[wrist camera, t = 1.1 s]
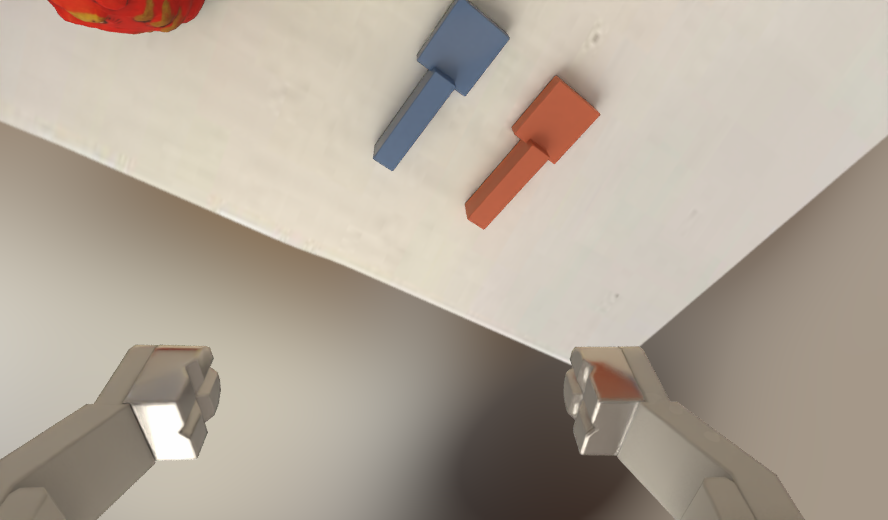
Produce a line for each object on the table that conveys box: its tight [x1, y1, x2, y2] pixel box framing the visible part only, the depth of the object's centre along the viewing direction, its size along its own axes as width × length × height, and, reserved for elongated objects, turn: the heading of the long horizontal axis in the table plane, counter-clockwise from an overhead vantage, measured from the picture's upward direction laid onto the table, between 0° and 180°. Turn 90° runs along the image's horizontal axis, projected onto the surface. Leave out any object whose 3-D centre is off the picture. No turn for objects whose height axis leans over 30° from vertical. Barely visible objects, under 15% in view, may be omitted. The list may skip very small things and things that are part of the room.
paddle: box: [373, 0, 510, 171], centre depth 32 cm, size 4×11×2 cm, turn 143°
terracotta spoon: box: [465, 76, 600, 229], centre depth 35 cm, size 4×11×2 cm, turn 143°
